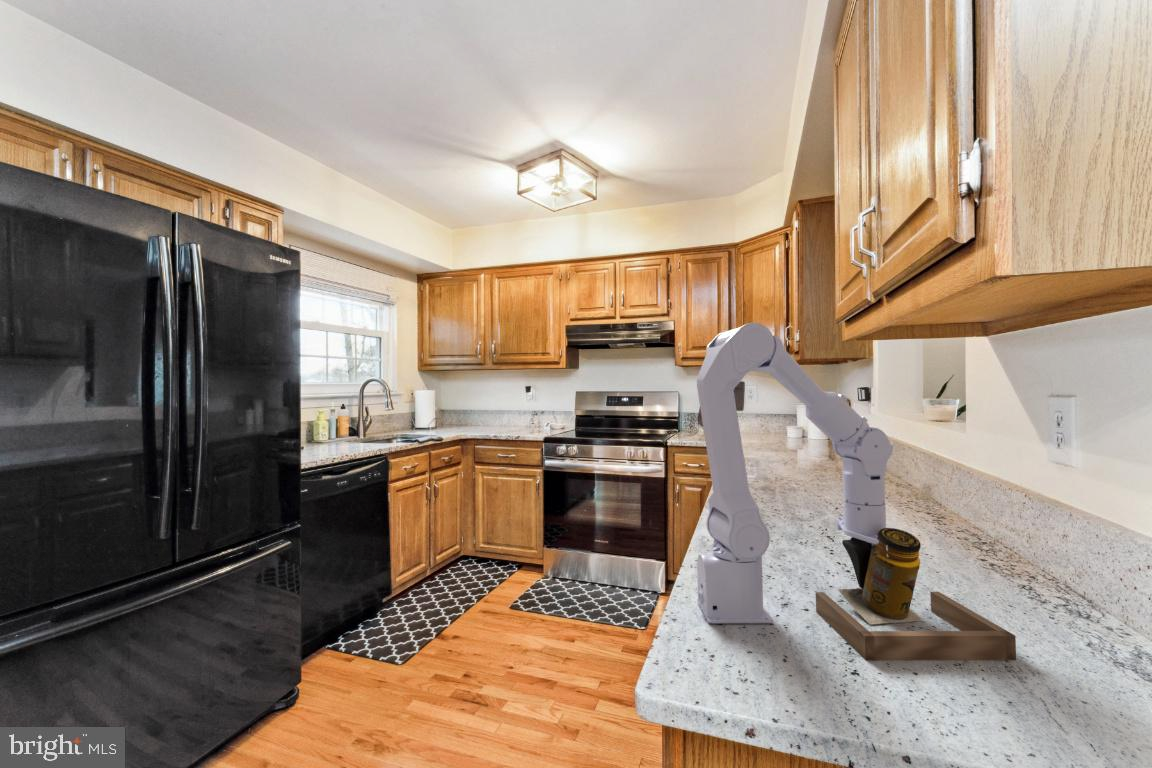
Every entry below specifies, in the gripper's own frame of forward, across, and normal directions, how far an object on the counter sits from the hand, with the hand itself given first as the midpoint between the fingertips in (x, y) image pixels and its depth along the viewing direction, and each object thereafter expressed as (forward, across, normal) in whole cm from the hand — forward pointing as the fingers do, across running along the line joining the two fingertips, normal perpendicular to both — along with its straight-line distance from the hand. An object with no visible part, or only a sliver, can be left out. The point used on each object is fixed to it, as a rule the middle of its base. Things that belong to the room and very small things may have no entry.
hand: (866, 587), depth 76 cm
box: (+2, -9, 0) cm, 10 cm away
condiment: (+2, -3, 0) cm, 3 cm away
